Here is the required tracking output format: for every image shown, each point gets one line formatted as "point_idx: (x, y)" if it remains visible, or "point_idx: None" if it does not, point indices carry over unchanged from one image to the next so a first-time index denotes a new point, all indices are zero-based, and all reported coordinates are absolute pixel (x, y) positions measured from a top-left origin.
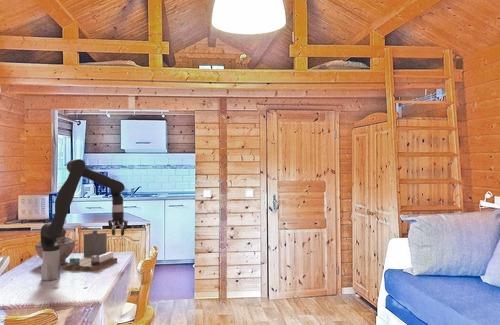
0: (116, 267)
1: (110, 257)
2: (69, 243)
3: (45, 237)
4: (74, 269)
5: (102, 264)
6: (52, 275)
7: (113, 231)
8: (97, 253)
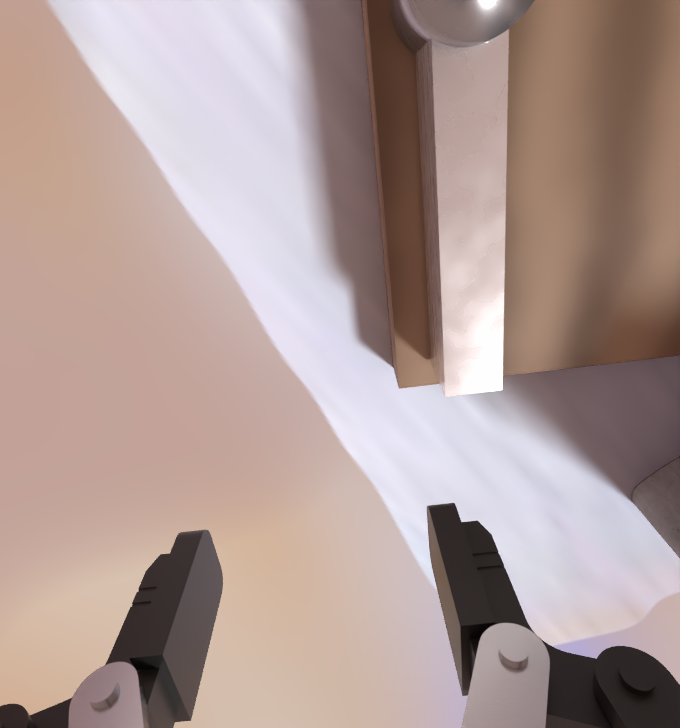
0: (238, 181)
1: (431, 318)
2: None
3: None
4: None
5: (371, 79)
6: None
7: (448, 592)
8: None
